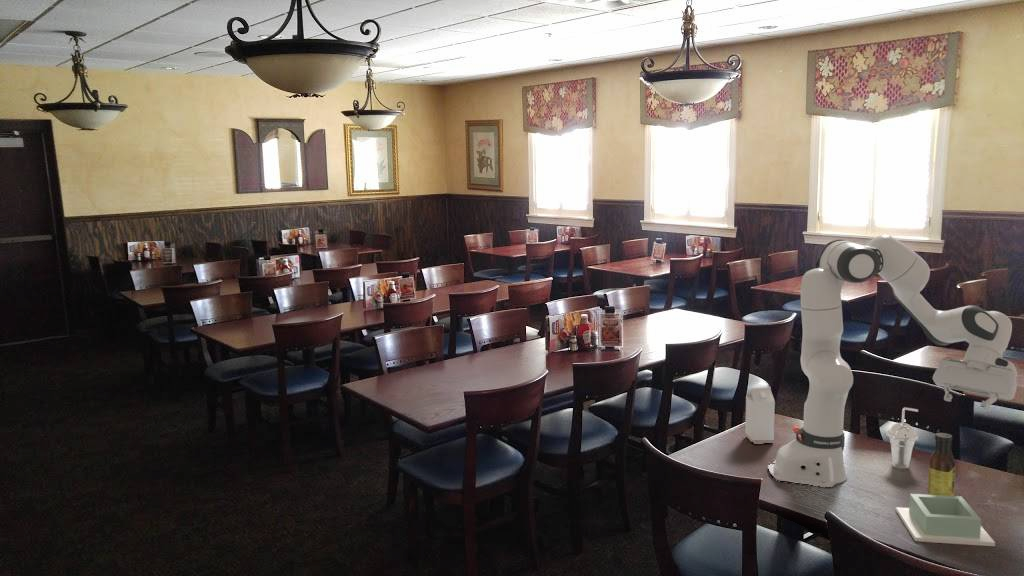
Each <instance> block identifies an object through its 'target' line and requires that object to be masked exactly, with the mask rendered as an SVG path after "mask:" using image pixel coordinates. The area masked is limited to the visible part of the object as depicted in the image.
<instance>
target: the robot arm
mask: <svg viewBox="0 0 1024 576" xmlns="http://www.w3.org/2000/svg"><path fill="white" fill-rule="evenodd" d="M875 275H879V276H880V278H882V279H883V280H884V281H885V282H886V283H888V284H889V285H890V287H891V293H892V294H893V296H894V298H895V299H896V300H897V302H898V303H899V304H900V305H901V306H902V307H903V308H904V310H905V311H906V312H907V313H908V314H909V315H910V316H911V317H912V318H913V319H914V321H916V322H917V324H918V325H919V326H920V328H921V329H922V331H923V332H924V334H925V336H926V337H927V338H928V340H929V341H930V342H932V343H934V344H935V345H938V346H947V345H950V344H952V345H953V344H955V343H959V342H960V343H961V342H966V343H968V347H967V348H966V352H965V354H964V357H963V359H961V358H952V357H946V358H942V359H940V360H939V363H938V366H937V368H936V369H935V372H934V373H933V375H932V380H933V382H934V384H935V385H936V386H938V387H941V388H943V390H944V393H945V394H944V396H943V400H944V401H946V402H952V399H953V395H952V394H951V393H949V392H951V391H952V390H956V391H957V390H958V391H961V392H966V393H972V394H977V395H980V396H987V397H988V399H986V400H981V403H980V408H981V409H983V410H986V411H987V410H989V408H990V405H992V404H993V403H995V402H997V399H1000V400H1006V401H1011V400H1013V399H1014V398H1015V396H1016V393H1017V388H1018V382H1017V378H1018V371H1017V368H1016V366H1015V364H1014V363H1013V362H1012V361H1010V360H1008V359H1007V358H1006V359H1005V358H1004V357H1003V356H1004V355H1003V354H1004V352H1005V351H1006V349H1007V347H1008V345H1009V342H1010V340H1011V337H1012V331H1013V323H1012V320H1011V318H1010V317H1009V316H1007V315H1006V314H1004V313H1002V312H1001V311H997V310H985V309H983V308H981V307H980V306H978V305H973V304H972V305H966V306H961V307H957V308H953V309H948V310H939V309H935V308H934V307H933V306H932V305H931V303H929V302H928V301H927V300H926V299H925V297H924V296H923V295H922V294H921V293H920V292H921V291H923V289H924V288H925V287H926V285H927V284H928V282H929V280H930V277H931V276H930V275H931V269H930V266H929V265H928V262H927V261H925V259H923V257H921V256H920V255H919V254H918V253H917V252H915V250H913V249H912V248H910V247H909V246H908V245H906V244H905V243H903V242H902V241H900V240H898V239H897V238H895V237H894V236H891V235H888V234H881V235H878V236H875V237H873V238H872V239H871V240H870V241H869V242H868V243H867V244H865V245H862V244H859V243H858V242H855V241H850V240H846V239H834V240H832V241H830V242H827V243H826V244H825V245H824V246H823V247H822V249H821V251H820V253H819V256H818V259H817V261H816V263H815V268H812V269H810V270H808V271H806V272H805V273H804V275H802V279H801V285H800V313H801V325H802V338H801V339H802V340H801V354H800V358H799V359H800V366H801V370H802V372H803V373H804V375H805V376H807V378H808V381H809V388H808V392H807V393H808V394H807V397H806V400H805V402H804V404H803V406H804V407H803V424H802V425H803V426H802V427H801V428H800V427H799V426H798V425H793V427H792V432H793V433H794V434H795V439H793V440H791V441H790V442H788V443H786V444H785V445H782V446H781V447H779V448H778V449H777V452H776V456H775V459H774V460H775V461H774V462H773V463H775V464H770V465H768V464H767V470H768V469H769V471H770V473H771V474H772V475H773V476H774V477H775V478H777V479H780V480H785V481H792V482H798V483H803V484H809V485H808V486H810V485H813V486H812V487H818V486H820V488H825V487H831V488H833V486H835V485H838V484H842V483H844V482H845V481H846V480H847V479H848V476H847V472H846V471H847V470H846V469H845V468H846V467H845V462H844V449H845V442H846V440H845V438H846V436H845V432H844V418H845V416H844V415H845V408H846V407H845V406H846V402H847V399H848V395H849V392H850V390H851V388H852V387H853V384H854V375H853V372H852V370H851V369H852V368H851V367H850V364H848V362H846V361H845V360H844V359H843V358H842V355H841V351H840V349H841V348H840V347H841V341H842V340H841V338H842V335H843V333H844V323H843V320H844V319H843V305H842V303H843V302H842V296H841V293H842V288H843V286H844V284H845V282H848V283H853V284H861V283H866V282H867V281H868V280H870V279H872V278H874V276H875ZM775 474H776V475H775Z"/></svg>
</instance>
